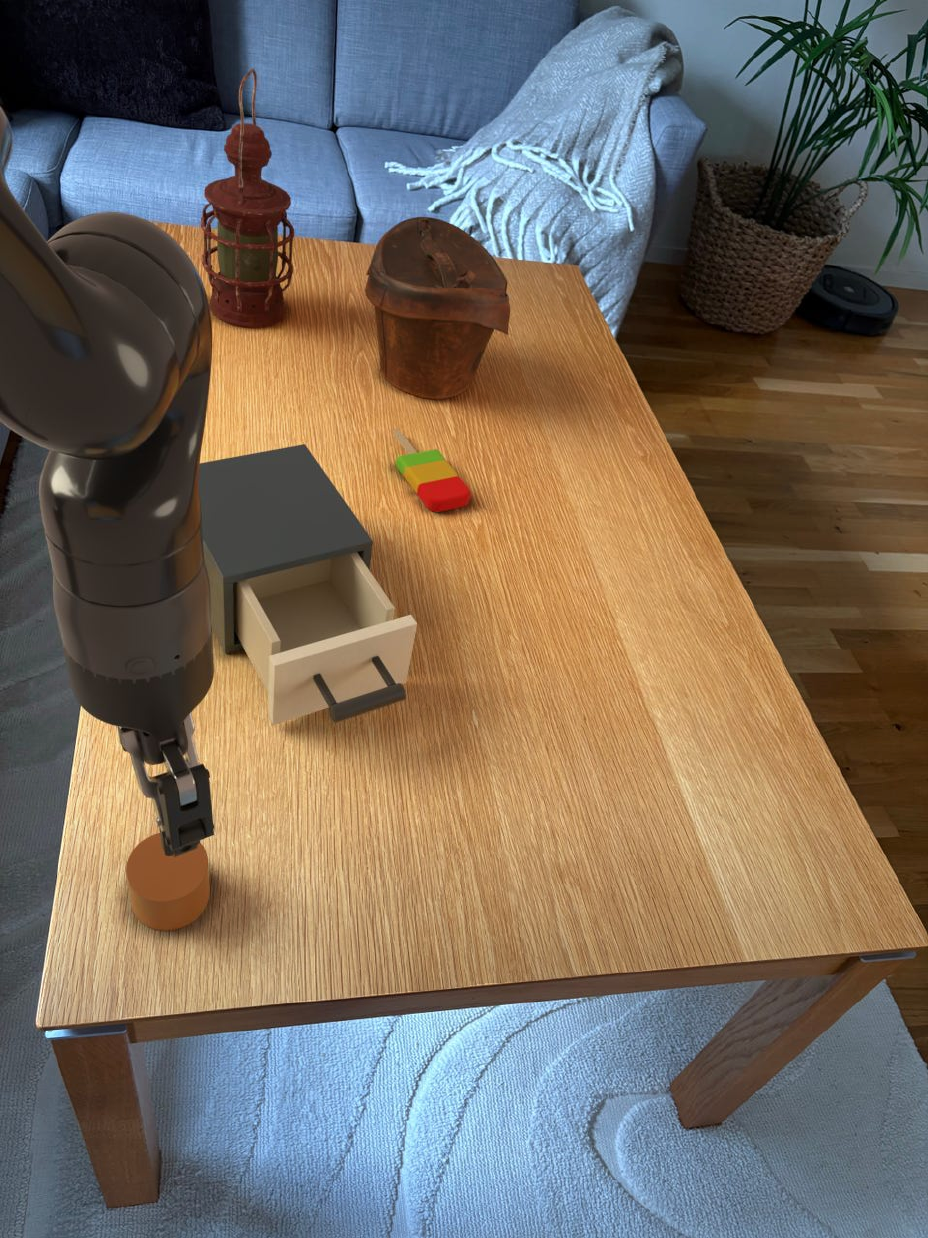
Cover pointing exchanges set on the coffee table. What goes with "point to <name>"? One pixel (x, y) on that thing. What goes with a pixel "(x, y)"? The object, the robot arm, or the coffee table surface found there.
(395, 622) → the drawer
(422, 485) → the popsicle
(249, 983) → the coffee table surface
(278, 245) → the lantern
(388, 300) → the case
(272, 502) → the cabinet
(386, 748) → the coffee table surface
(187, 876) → the orange brown cylinder
